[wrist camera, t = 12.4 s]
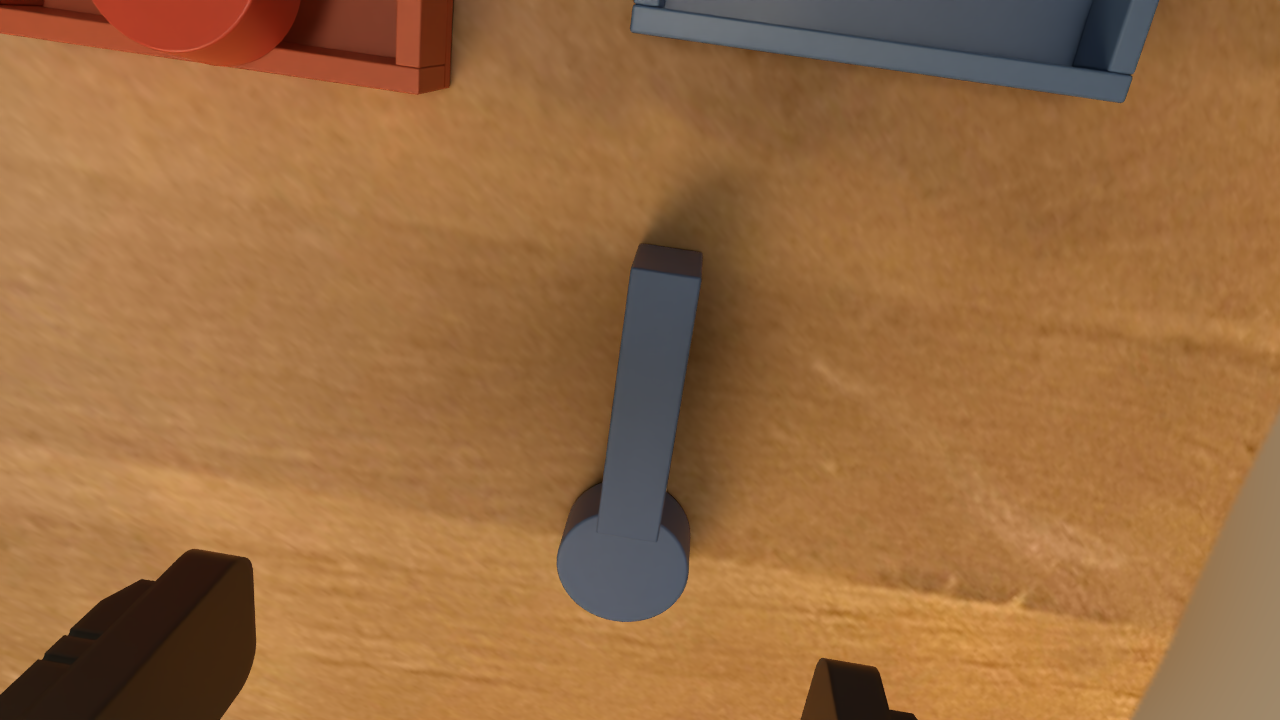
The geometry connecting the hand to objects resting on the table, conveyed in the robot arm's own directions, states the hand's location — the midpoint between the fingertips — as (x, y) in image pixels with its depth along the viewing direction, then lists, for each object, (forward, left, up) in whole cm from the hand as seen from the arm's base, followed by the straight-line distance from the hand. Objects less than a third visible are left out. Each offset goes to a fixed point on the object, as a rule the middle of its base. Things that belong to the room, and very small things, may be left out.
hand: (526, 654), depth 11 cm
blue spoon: (+1, +2, -14) cm, 14 cm away
